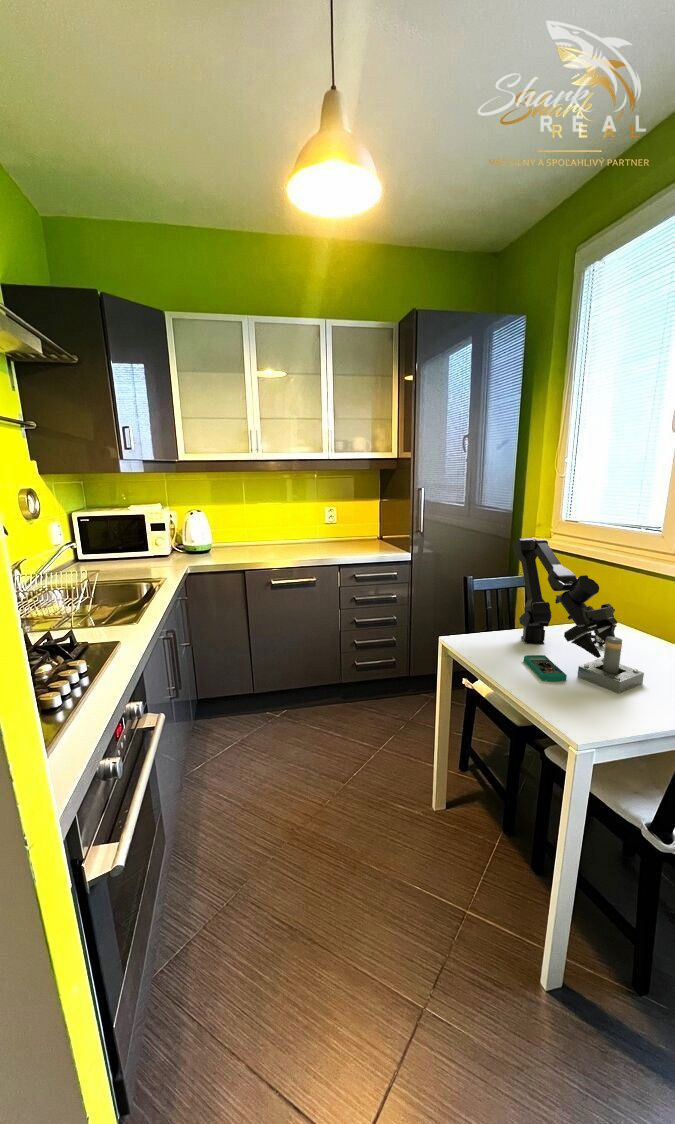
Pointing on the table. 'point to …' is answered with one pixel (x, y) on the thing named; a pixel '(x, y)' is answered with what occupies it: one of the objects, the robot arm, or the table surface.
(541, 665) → the digital multimeter
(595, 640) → the valve
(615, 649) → the plug
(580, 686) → the table surface
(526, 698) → the table surface
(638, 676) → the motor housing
